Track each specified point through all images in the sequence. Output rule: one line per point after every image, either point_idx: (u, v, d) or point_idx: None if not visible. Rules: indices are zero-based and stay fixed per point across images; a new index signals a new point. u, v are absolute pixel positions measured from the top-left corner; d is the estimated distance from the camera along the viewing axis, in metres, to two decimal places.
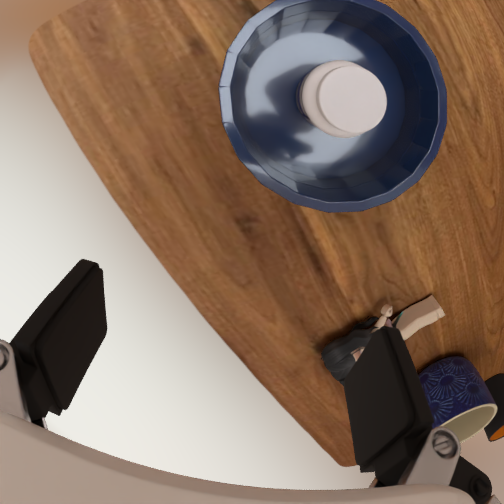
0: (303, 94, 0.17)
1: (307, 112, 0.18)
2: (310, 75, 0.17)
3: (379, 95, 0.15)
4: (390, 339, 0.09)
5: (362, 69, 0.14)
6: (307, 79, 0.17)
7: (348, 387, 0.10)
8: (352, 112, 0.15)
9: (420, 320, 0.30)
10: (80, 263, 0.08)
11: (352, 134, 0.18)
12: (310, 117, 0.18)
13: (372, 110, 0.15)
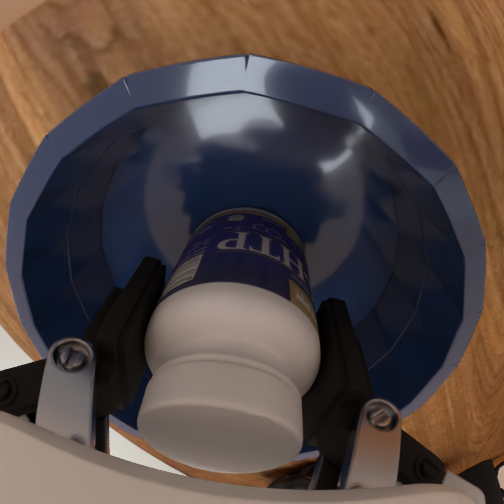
0: (146, 355, 0.09)
1: None
2: (149, 327, 0.08)
3: (282, 442, 0.06)
4: (334, 310, 0.10)
5: (231, 409, 0.05)
6: (146, 332, 0.08)
7: None
8: (218, 458, 0.07)
9: None
10: (145, 260, 0.09)
11: None
12: None
13: (263, 458, 0.06)
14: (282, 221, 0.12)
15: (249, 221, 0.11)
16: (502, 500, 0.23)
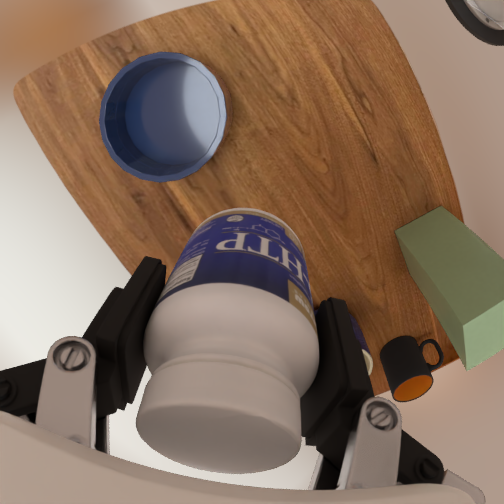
0: None
1: None
2: (148, 328, 0.08)
3: (280, 443, 0.06)
4: (334, 310, 0.10)
5: (230, 410, 0.05)
6: (145, 333, 0.08)
7: None
8: (217, 458, 0.07)
9: None
10: (145, 260, 0.09)
11: None
12: None
13: (262, 458, 0.06)
14: (281, 222, 0.12)
15: (248, 222, 0.11)
16: (428, 371, 0.46)
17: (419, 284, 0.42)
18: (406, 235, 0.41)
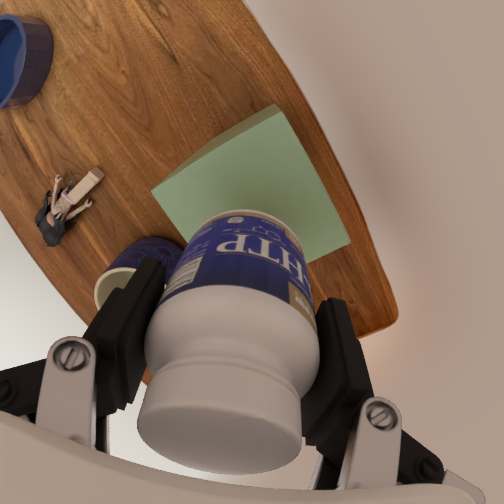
0: None
1: None
2: (149, 329, 0.08)
3: (281, 444, 0.06)
4: (334, 310, 0.10)
5: (231, 412, 0.05)
6: (146, 334, 0.08)
7: None
8: (217, 459, 0.07)
9: (80, 185, 0.38)
10: (145, 260, 0.09)
11: None
12: None
13: (263, 459, 0.06)
14: (281, 223, 0.12)
15: (249, 223, 0.11)
16: None
17: None
18: (215, 137, 0.35)
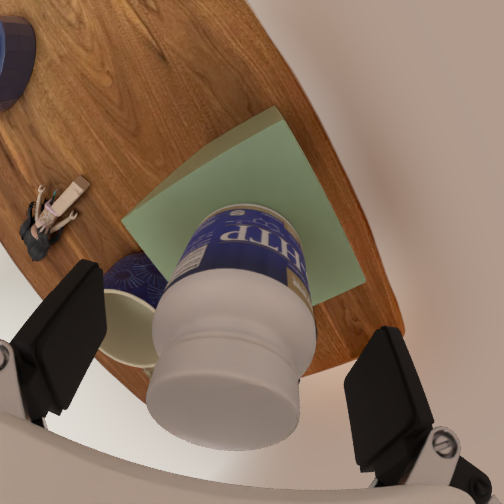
0: None
1: None
2: (157, 311, 0.09)
3: (280, 415, 0.07)
4: (390, 339, 0.09)
5: (234, 379, 0.06)
6: (154, 316, 0.09)
7: (348, 387, 0.10)
8: (221, 433, 0.07)
9: (64, 196, 0.35)
10: (80, 263, 0.08)
11: None
12: None
13: (263, 432, 0.07)
14: (280, 216, 0.13)
15: (250, 216, 0.12)
16: None
17: None
18: (208, 144, 0.31)
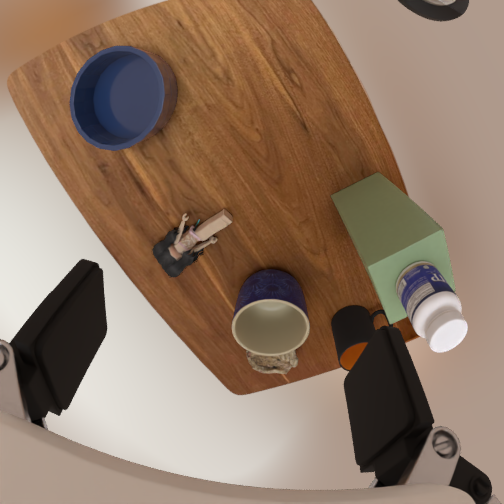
0: (416, 318, 0.25)
1: (414, 327, 0.25)
2: (424, 307, 0.24)
3: (463, 331, 0.22)
4: (390, 339, 0.09)
5: (460, 320, 0.21)
6: (421, 309, 0.24)
7: (349, 387, 0.10)
8: (446, 343, 0.23)
9: (211, 225, 0.50)
10: (80, 263, 0.08)
11: None
12: (415, 330, 0.25)
13: (456, 340, 0.22)
14: None
15: (431, 268, 0.27)
16: None
17: None
18: (339, 198, 0.46)
